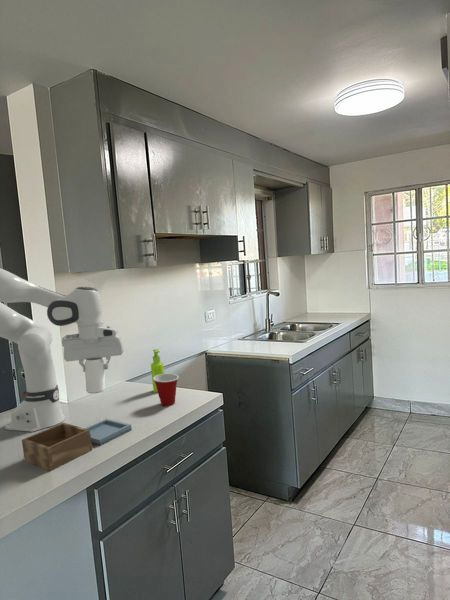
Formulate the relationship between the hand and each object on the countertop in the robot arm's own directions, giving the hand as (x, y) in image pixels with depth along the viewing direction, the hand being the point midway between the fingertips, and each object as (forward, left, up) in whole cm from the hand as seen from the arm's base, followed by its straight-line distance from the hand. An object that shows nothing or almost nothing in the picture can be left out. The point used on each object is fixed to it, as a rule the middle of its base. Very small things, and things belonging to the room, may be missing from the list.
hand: (96, 370), depth 146 cm
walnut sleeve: (-8, -16, -24) cm, 30 cm away
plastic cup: (+15, +30, -24) cm, 41 cm away
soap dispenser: (+5, +48, -24) cm, 54 cm away
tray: (0, 0, -24) cm, 24 cm away
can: (-1, 0, -8) cm, 8 cm away
